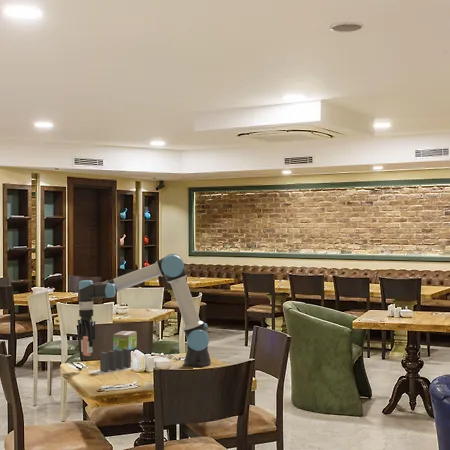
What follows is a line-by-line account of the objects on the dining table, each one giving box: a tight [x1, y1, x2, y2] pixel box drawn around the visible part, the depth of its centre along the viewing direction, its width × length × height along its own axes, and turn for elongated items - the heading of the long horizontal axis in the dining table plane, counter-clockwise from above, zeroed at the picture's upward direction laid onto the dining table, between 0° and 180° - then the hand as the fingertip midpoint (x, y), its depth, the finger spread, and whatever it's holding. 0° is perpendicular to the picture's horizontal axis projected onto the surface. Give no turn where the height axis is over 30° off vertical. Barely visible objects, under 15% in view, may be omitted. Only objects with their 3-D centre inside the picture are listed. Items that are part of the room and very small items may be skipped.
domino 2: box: [99, 351, 108, 372], centre depth 372 cm, size 5×2×10 cm, turn 45°
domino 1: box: [82, 335, 92, 357], centre depth 376 cm, size 5×2×10 cm, turn 45°
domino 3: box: [107, 350, 116, 371], centre depth 375 cm, size 5×2×10 cm, turn 45°
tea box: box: [112, 330, 138, 351], centre depth 414 cm, size 15×10×15 cm
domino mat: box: [87, 367, 132, 376], centre depth 375 cm, size 12×24×1 cm, turn 135°
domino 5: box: [123, 348, 132, 368], centre depth 383 cm, size 5×2×10 cm, turn 45°
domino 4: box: [115, 349, 123, 369], centre depth 379 cm, size 5×2×10 cm, turn 45°
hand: (86, 352), depth 376 cm, fingers closed on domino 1, 5 cm apart
